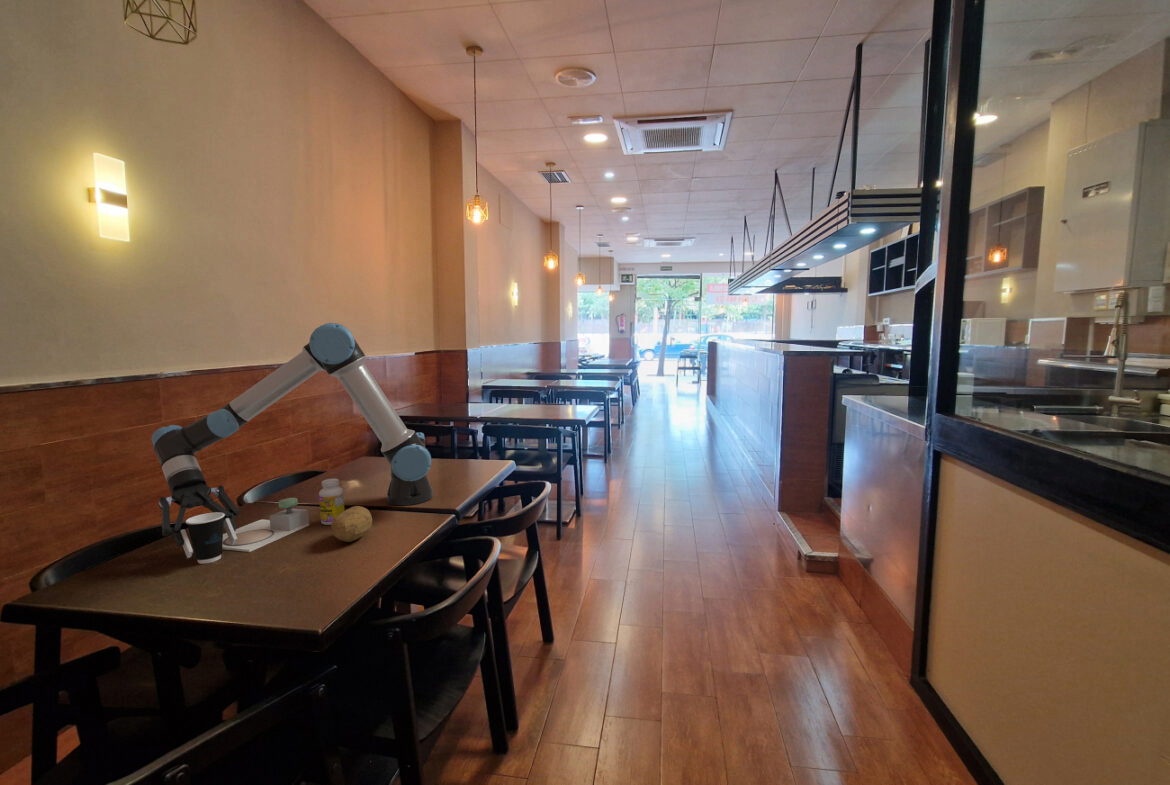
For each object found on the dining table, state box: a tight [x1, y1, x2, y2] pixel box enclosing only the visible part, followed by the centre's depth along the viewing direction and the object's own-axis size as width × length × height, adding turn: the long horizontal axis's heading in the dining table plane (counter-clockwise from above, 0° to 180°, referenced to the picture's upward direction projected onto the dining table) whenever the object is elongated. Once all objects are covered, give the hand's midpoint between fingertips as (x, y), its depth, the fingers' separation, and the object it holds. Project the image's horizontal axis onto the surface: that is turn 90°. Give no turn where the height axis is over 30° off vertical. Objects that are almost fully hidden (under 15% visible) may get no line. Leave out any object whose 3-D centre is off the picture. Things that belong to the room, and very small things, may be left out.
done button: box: [278, 497, 298, 514], centre depth 149 cm, size 5×5×6 cm
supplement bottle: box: [318, 478, 346, 526], centre depth 153 cm, size 7×7×13 cm
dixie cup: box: [185, 512, 225, 565], centre depth 128 cm, size 8×8×11 cm
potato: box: [330, 505, 373, 543], centre depth 139 cm, size 10×14×8 cm
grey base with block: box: [222, 508, 310, 553], centre depth 144 cm, size 18×20×5 cm
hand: (213, 548), depth 126 cm, fingers open, 9 cm apart
